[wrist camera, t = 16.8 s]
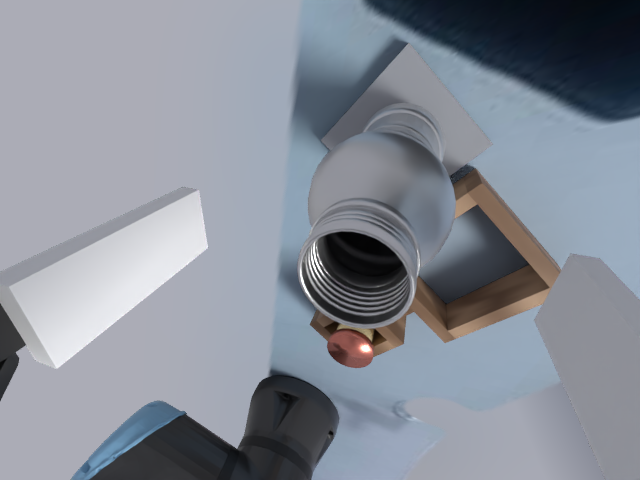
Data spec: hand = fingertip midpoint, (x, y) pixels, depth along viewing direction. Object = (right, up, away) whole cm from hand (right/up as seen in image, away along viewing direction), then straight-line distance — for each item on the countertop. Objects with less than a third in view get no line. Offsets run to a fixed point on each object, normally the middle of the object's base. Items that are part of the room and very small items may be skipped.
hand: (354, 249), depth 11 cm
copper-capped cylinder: (+4, -8, +25) cm, 27 cm away
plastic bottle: (+6, +9, +14) cm, 18 cm away
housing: (+9, -4, +21) cm, 23 cm away
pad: (+6, +9, +15) cm, 19 cm away
